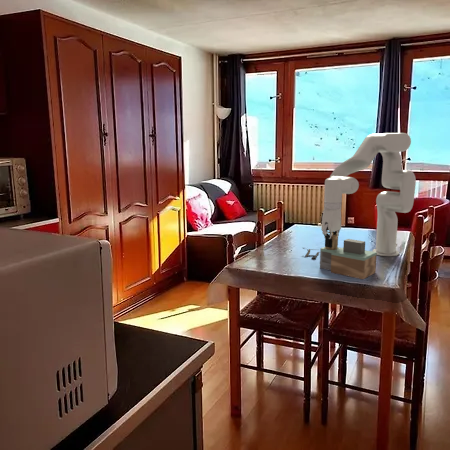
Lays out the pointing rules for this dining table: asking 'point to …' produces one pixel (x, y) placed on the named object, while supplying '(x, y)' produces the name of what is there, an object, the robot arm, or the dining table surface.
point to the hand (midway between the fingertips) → (331, 245)
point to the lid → (352, 250)
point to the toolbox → (348, 265)
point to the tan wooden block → (333, 242)
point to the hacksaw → (311, 255)
